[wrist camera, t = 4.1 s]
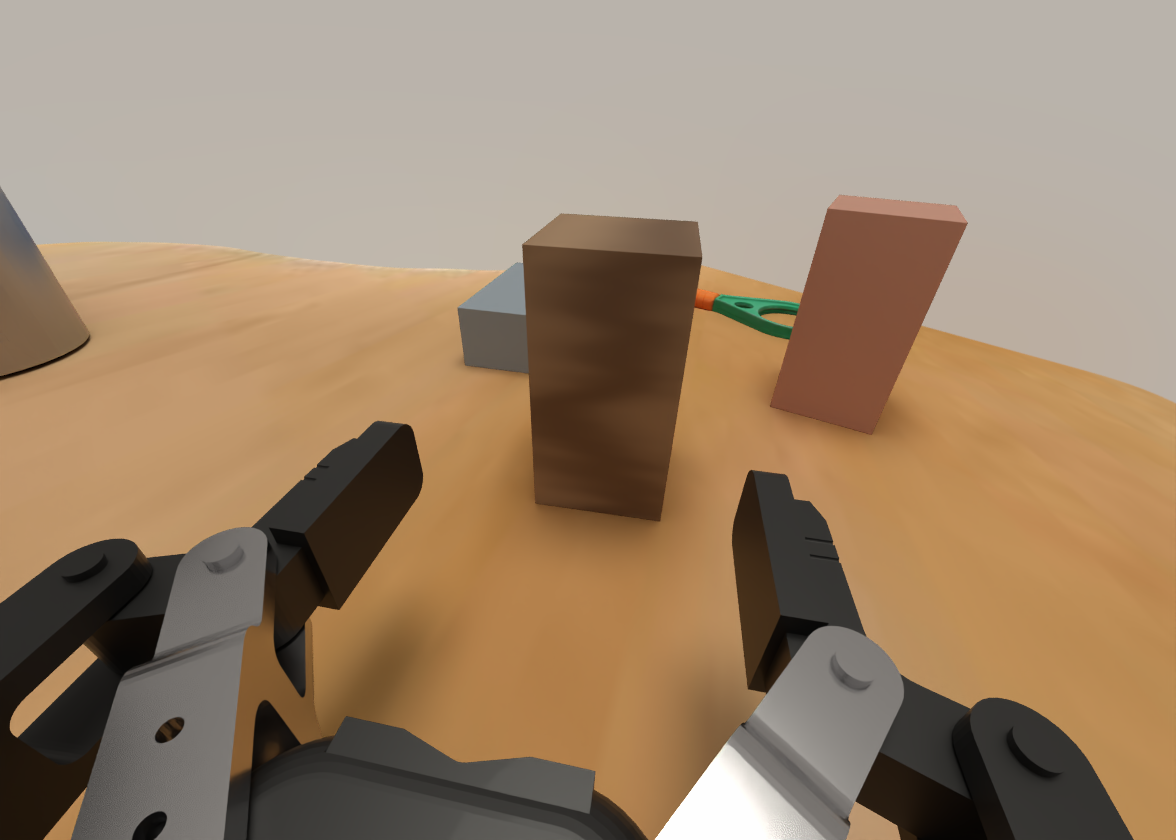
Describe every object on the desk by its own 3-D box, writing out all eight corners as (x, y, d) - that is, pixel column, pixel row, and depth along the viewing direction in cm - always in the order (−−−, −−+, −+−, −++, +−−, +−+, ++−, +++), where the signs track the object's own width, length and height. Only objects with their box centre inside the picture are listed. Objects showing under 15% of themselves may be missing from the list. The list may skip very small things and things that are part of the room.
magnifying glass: (839, 328, 36) (846, 307, 35) (825, 354, 32) (833, 331, 31) (664, 289, 43) (666, 271, 42) (633, 307, 39) (635, 287, 38)
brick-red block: (769, 406, 25) (827, 208, 20) (786, 370, 29) (839, 194, 23) (871, 434, 23) (967, 222, 18) (875, 392, 27) (956, 205, 21)
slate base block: (465, 370, 29) (457, 307, 26) (519, 313, 37) (516, 262, 34) (625, 391, 27) (631, 326, 25) (644, 327, 35) (650, 274, 33)
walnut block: (535, 503, 19) (522, 244, 13) (562, 432, 23) (561, 213, 17) (660, 521, 18) (702, 257, 12) (664, 445, 22) (697, 221, 16)
